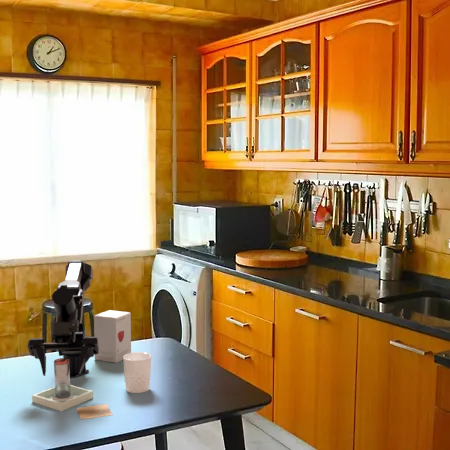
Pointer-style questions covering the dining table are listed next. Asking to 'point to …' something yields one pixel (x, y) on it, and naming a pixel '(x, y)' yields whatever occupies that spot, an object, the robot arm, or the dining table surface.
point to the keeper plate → (94, 411)
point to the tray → (79, 397)
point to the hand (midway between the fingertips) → (61, 374)
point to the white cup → (137, 371)
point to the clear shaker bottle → (62, 380)
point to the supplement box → (113, 335)
